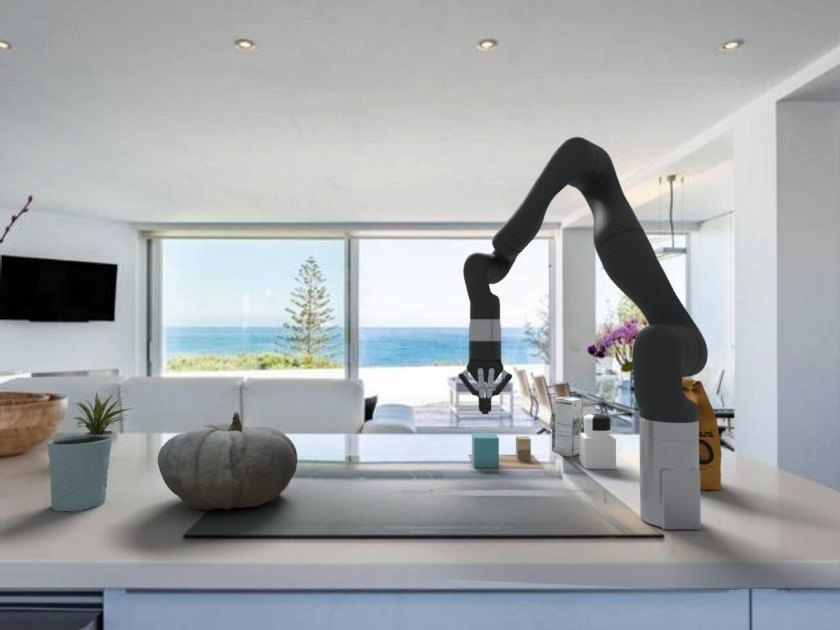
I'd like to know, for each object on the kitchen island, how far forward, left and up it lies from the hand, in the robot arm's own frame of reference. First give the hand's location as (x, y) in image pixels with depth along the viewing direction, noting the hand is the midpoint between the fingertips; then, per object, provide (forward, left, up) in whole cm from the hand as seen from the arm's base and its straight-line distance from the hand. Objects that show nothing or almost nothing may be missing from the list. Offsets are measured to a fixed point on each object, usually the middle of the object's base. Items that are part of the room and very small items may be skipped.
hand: (485, 413), depth 130 cm
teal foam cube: (0, 0, -12) cm, 12 cm away
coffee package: (-12, -42, -13) cm, 46 cm away
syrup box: (+15, -23, -13) cm, 30 cm away
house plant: (+9, +95, -13) cm, 96 cm away
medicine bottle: (+3, -27, -13) cm, 30 cm away
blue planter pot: (-26, +78, -13) cm, 83 cm away
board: (+3, -5, -13) cm, 14 cm away
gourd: (-24, +51, -13) cm, 58 cm away
